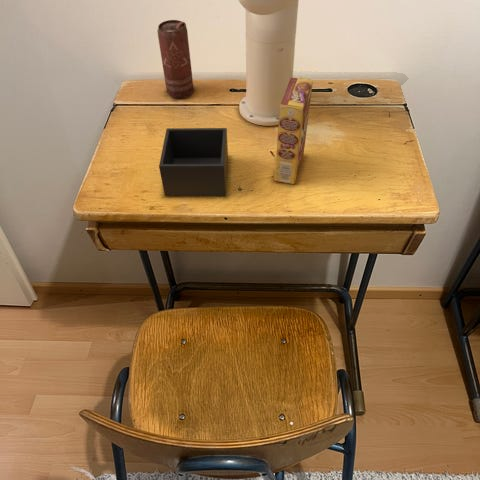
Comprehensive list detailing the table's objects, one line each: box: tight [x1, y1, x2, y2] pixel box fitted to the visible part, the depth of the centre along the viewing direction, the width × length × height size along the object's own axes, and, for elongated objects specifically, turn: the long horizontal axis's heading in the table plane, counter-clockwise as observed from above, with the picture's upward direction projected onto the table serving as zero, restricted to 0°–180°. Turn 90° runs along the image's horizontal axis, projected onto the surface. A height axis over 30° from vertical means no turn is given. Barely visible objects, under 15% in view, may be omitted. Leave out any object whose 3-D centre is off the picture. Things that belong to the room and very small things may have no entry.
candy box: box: [273, 77, 314, 185], centre depth 82 cm, size 9×4×15 cm, turn 165°
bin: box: [158, 127, 229, 197], centre depth 85 cm, size 11×11×7 cm
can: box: [156, 19, 195, 100], centre depth 100 cm, size 6×6×14 cm
